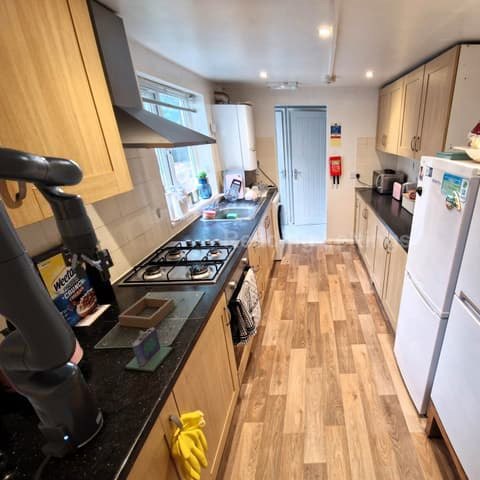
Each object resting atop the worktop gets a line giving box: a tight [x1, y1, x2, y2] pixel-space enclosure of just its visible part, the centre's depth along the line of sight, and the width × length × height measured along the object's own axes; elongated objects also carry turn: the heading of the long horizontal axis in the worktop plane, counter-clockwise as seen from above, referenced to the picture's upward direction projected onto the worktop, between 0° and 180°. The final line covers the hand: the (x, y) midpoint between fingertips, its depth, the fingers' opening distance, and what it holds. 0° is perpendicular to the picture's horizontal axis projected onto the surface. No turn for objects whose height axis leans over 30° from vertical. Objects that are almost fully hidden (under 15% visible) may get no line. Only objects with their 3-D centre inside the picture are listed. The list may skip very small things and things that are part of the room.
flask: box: [131, 327, 161, 367], centre depth 89 cm, size 9×3×11 cm, turn 172°
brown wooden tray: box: [117, 296, 176, 329], centre depth 112 cm, size 14×14×4 cm
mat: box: [125, 345, 174, 372], centre depth 91 cm, size 10×10×1 cm
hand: (94, 279), depth 83 cm, fingers open, 8 cm apart
